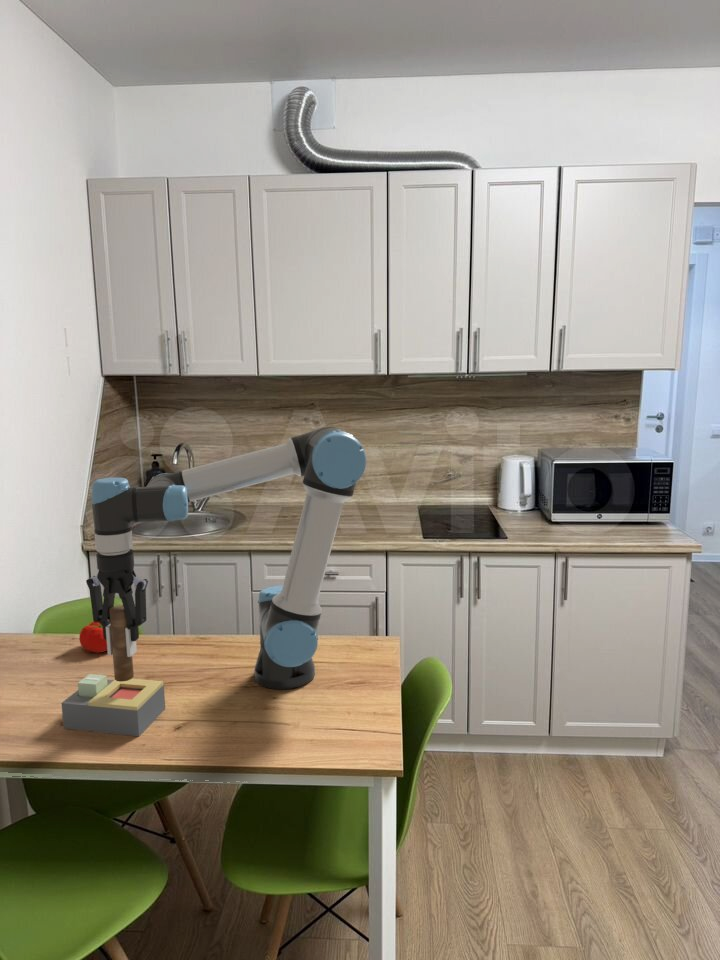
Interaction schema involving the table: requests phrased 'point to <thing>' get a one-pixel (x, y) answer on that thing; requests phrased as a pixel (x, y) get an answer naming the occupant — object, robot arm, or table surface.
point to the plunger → (126, 694)
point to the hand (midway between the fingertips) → (122, 653)
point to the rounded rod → (120, 645)
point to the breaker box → (116, 708)
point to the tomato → (93, 638)
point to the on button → (92, 685)
